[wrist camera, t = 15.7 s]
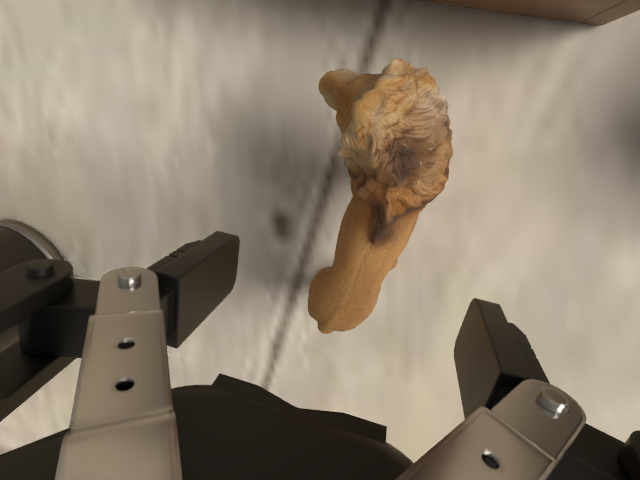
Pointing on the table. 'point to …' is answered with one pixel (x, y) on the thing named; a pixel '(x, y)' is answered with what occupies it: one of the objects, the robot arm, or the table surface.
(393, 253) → the lion figurine
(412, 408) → the table surface
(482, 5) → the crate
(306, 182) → the table surface
